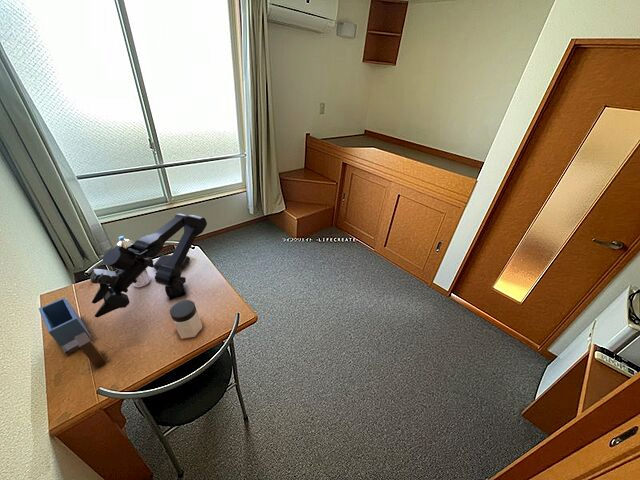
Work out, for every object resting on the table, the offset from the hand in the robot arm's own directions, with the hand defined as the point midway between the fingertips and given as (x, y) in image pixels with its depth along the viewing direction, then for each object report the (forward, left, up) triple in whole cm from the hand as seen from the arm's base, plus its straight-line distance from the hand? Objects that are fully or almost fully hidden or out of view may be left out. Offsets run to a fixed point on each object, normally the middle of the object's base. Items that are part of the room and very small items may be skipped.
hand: (94, 309), depth 84 cm
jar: (-25, +10, -15) cm, 31 cm away
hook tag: (+5, +10, -14) cm, 18 cm away
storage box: (+11, -6, -14) cm, 19 cm away
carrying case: (-23, -33, -15) cm, 43 cm away
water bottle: (-10, -26, -15) cm, 31 cm away
